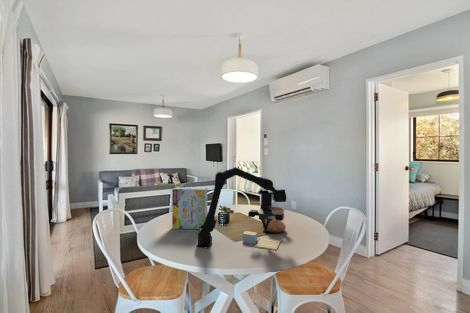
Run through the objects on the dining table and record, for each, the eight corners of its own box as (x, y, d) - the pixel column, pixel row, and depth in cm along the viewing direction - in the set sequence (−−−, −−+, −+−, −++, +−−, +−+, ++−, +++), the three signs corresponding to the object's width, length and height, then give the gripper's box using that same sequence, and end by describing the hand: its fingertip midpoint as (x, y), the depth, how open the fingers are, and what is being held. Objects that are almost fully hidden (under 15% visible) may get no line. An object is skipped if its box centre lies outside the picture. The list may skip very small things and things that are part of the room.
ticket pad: (253, 246, 128) (253, 245, 128) (259, 238, 140) (259, 237, 140) (276, 250, 124) (276, 248, 124) (280, 241, 136) (280, 240, 136)
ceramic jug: (286, 236, 145) (287, 212, 145) (262, 234, 147) (262, 210, 147) (284, 227, 163) (285, 206, 163) (262, 225, 165) (263, 204, 165)
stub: (242, 242, 134) (242, 233, 134) (245, 239, 139) (245, 231, 139) (255, 243, 132) (255, 235, 132) (257, 240, 136) (257, 232, 136)
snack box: (207, 226, 161) (208, 187, 161) (204, 230, 153) (205, 189, 152) (176, 224, 164) (176, 186, 163) (171, 228, 155) (171, 188, 154)
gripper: (245, 203, 127) (245, 233, 128) (281, 206, 121) (280, 237, 121) (251, 199, 138) (250, 226, 138) (284, 202, 131) (284, 231, 132)
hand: (265, 230), depth 132 cm, fingers closed
